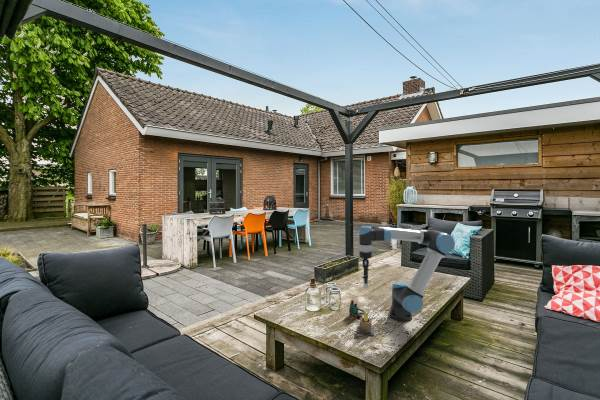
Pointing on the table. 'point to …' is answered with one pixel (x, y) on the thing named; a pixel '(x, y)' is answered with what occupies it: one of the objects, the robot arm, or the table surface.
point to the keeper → (366, 321)
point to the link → (365, 325)
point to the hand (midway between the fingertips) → (365, 284)
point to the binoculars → (354, 310)
